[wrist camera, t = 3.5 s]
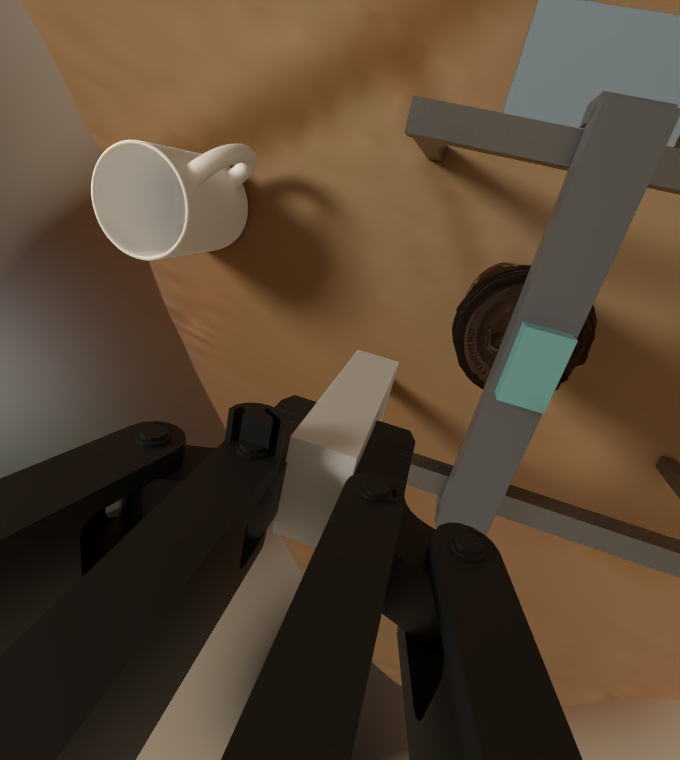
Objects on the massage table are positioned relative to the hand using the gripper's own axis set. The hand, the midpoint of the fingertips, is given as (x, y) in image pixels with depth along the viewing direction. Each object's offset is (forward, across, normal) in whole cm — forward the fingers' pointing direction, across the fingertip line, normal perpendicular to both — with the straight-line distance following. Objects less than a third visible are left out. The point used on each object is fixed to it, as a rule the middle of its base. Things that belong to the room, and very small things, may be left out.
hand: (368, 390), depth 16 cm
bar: (+12, +7, 0) cm, 14 cm away
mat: (+26, +8, +16) cm, 32 cm away
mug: (+26, -20, +3) cm, 33 cm away
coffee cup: (+26, +7, 0) cm, 27 cm away
